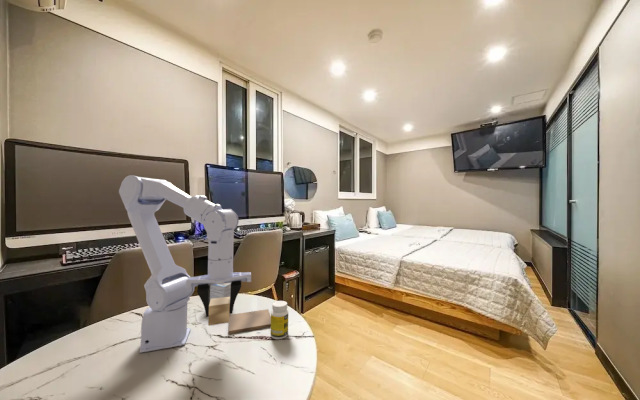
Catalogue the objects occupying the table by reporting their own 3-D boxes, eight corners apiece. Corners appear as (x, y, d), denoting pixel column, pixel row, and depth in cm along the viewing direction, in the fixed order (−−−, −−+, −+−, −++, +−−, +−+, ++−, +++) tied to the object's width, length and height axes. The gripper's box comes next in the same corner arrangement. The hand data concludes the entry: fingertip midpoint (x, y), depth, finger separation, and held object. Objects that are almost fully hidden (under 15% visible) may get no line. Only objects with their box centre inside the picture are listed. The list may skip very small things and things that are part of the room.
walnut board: (228, 334, 62) (228, 331, 62) (229, 317, 71) (229, 314, 71) (272, 326, 66) (272, 323, 66) (268, 311, 76) (268, 309, 76)
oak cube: (208, 325, 53) (208, 306, 53) (210, 316, 57) (210, 298, 57) (229, 322, 55) (229, 303, 55) (229, 314, 59) (229, 296, 59)
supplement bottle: (286, 340, 59) (286, 307, 60) (268, 339, 60) (269, 307, 60) (289, 330, 64) (289, 300, 65) (272, 330, 64) (273, 299, 65)
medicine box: (234, 308, 78) (234, 282, 78) (223, 313, 74) (224, 286, 74) (217, 303, 82) (218, 279, 82) (206, 308, 78) (207, 283, 78)
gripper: (184, 264, 50) (182, 326, 50) (252, 259, 55) (251, 316, 55) (189, 257, 57) (188, 312, 56) (250, 253, 62) (249, 304, 61)
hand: (219, 313), depth 56 cm, fingers closed on oak cube, 4 cm apart
